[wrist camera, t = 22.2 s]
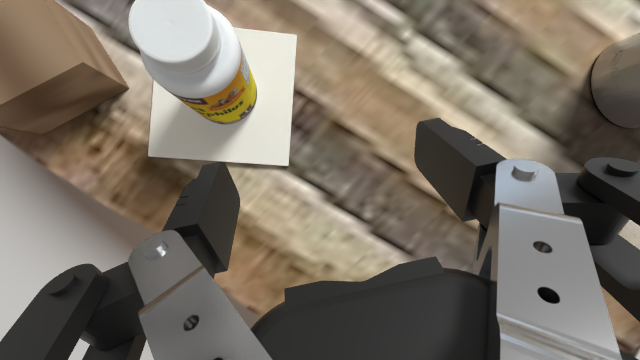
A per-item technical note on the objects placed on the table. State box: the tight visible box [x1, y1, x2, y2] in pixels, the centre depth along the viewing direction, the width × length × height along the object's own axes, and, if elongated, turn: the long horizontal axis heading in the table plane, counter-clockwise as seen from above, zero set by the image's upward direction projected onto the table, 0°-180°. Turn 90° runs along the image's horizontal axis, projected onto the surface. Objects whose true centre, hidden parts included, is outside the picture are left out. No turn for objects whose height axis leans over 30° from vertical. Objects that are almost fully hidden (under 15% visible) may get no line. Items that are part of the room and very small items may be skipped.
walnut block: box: [0, 0, 129, 135], centre depth 19 cm, size 8×6×5 cm
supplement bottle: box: [128, 0, 257, 125], centre depth 17 cm, size 6×6×10 cm
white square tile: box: [148, 28, 297, 166], centre depth 23 cm, size 12×12×1 cm
